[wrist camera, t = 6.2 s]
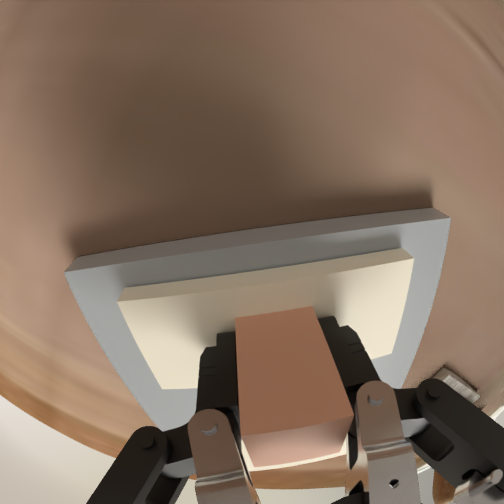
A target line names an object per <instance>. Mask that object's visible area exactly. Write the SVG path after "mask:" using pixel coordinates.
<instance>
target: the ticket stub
mask: <svg viewBox="0 0 504 504" xmlns="http://www.w3.org/2000/svg"><path fill="white" fill-rule="evenodd" d="M413 263H414V258H413V257H412V256H411V255H410V254H409V253H408V252H407V251H406V250H404V249H403V248H398V249H392V250H386V251H380V252H374V253H368V254H362V255H356V256H350V257H344V258H337V259H331V260H325V261H318V262H312V263H305V264H298V265H292V266H285V267H278V268H271V269H265V270H258V271H251V272H243V273H236V274H229V275H222V276H214V277H207V278H199V279H192V280H184V281H176V282H168V283H160V284H152V285H144V286H136V287H127V288H124V289H123V291H122V293H121V295H120V297H119V299H118V301H117V303H118V305H119V308H120V310H121V312H122V314H123V316H124V319H125V321H126V323H127V325H128V327H129V329H130V331H131V333H132V335H133V337H134V339H135V341H136V343H137V345H138V347H139V349H140V351H141V353H142V355H143V356H144V358H145V360H146V362H147V364H148V366H149V367H150V369H151V371H152V373H153V374H154V376H155V378H156V380H157V381H158V383H159V385H160V386H161V388H162V389H190V388H198V378H199V376H198V375H199V363H200V356H201V354H202V353H203V351H204V349H205V348H206V347H211V346H216V339H217V333H223V332H232V331H235V333H236V353H237V375H238V395H239V414H240V431H241V437H242V440H243V442H244V445H245V447H246V449H247V452H248V454H249V457H250V459H251V461H252V463H253V466H254V467H263V466H271V465H279V464H285V463H292V462H297V461H303V460H308V459H313V458H318V457H322V456H326V455H331V454H335V453H339V452H340V451H341V448H342V446H343V443H344V441H345V438H346V436H347V433H348V431H349V428H350V425H351V423H352V420H353V417H354V413H353V410H352V408H351V405H350V402H349V399H348V397H347V394H346V391H345V388H344V386H343V383H342V380H341V378H340V375H339V372H338V370H337V367H336V365H335V362H334V359H333V357H332V354H331V352H330V349H329V347H328V344H327V341H326V339H325V336H324V334H323V331H322V329H321V326H320V324H319V321H318V318H323V317H328V316H335V318H336V320H337V322H338V324H339V326H340V327H341V326H346V325H348V326H349V327H351V328H352V329H353V330H354V331H356V332H357V334H358V336H359V338H360V340H361V343H362V344H363V346H364V348H365V351H367V353H368V355H369V357H370V359H375V358H378V357H382V356H385V355H388V354H391V353H392V351H393V347H394V344H395V341H396V337H397V334H398V330H399V327H400V323H401V319H402V315H403V311H404V307H405V303H406V298H407V294H408V289H409V284H410V279H411V274H412V269H413Z"/></svg>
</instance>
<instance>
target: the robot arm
mask: <svg viewBox="0 0 504 504" xmlns="http://www.w3.org/2000/svg"><path fill="white" fill-rule="evenodd" d="M318 321H319V324H320V326H321V329H322V331H323V334H324V336H325V339H326V341H327V344H328V347H329V349H330V352H331V354H332V357H333V359H334V362H335V365H336V367H337V370H338V372H339V375H340V378H341V380H342V383H343V386H344V388H345V391H346V394H347V397H348V399H349V402H350V405H351V408H352V410H353V413H354V417H353V420H352V423H351V425H350V428H349V431H348V433H347V436H346V454H347V475H346V481H345V497H343V498H341V499H340V500H338V501H335V502H333V503H331V504H422V503H421V502H420V491H419V483H418V476H417V468H416V461H415V455H414V452H415V453H416V454H417V455H418V456H420V457H421V458H422V459H423V460H424V461H425V462H426V463H427V464H428V465H430V466H431V467H432V468H433V469H434V470H435V471H436V472H437V473H439V474H440V475H441V476H442V477H443V478H444V479H445V480H447V481H448V482H449V483H450V484H451V485H452V486H454V487H455V488H456V491H455V494H454V498H453V501H454V503H456V504H504V428H503V427H502V426H500V425H499V424H498V423H497V422H495V421H494V420H493V419H491V418H490V417H489V416H488V415H486V414H485V413H484V412H482V411H481V410H480V409H479V408H477V407H476V406H475V405H473V404H472V403H471V402H470V401H468V400H467V399H466V398H464V397H463V396H462V395H460V394H459V393H458V392H457V391H455V390H454V389H453V388H451V387H450V386H449V385H447V384H446V383H445V382H443V381H442V380H440V379H436V378H430V379H426V380H424V381H423V382H421V383H420V385H419V386H418V388H409V389H396V388H392V387H391V386H390V385H389V384H387V383H385V382H382V380H381V379H380V377H379V376H378V373H377V371H376V369H375V367H374V365H373V363H372V361H371V359H370V357H369V355H368V353H367V351H365V348H364V346H363V344H362V343H361V340H360V338H359V336H358V334H357V332H356V331H354V330H353V329H352V328H351V327H349V326H348V325H346V326H341V327H340V326H339V324H338V322H337V320H336V318H335V316H328V317H323V318H318ZM198 376H199V378H198V388H197V402H196V411H195V414H194V415H193V416H192V417H191V419H190V420H189V422H188V423H186V424H185V425H183V426H180V427H177V428H174V429H170V430H167V431H163V432H162V431H161V430H160V429H158V428H156V427H153V426H145V427H141V428H139V429H138V430H136V431H135V432H134V433H133V434H132V436H131V437H130V439H129V440H128V442H127V443H126V445H125V446H124V448H123V449H122V451H121V452H120V454H119V455H118V457H117V458H116V460H115V461H114V463H113V464H112V466H111V467H110V469H109V470H108V472H107V473H106V475H105V476H104V478H103V479H102V481H101V482H100V484H99V485H98V487H97V488H96V490H95V491H94V493H93V494H92V496H91V497H90V499H89V500H88V502H87V503H86V504H175V502H176V500H177V499H178V497H179V495H180V493H181V491H182V489H183V487H184V486H185V484H186V482H187V480H188V478H189V476H190V475H193V474H196V475H197V481H196V483H195V492H196V496H197V500H198V504H261V503H260V500H259V497H258V495H257V493H256V491H255V488H254V485H253V482H252V479H251V476H250V474H249V471H248V468H247V465H246V462H245V459H244V456H243V453H242V444H241V431H240V414H239V395H238V375H237V353H236V333H235V331H232V332H223V333H217V339H216V346H211V347H206V348H205V349H204V351H203V353H202V354H201V356H200V363H199V375H198ZM389 484H391V485H392V486H393V488H391V487H390V486H389Z"/></svg>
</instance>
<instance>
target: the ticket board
mask: <svg viewBox="0 0 504 504" xmlns="http://www.w3.org/2000/svg"><path fill="white" fill-rule="evenodd" d="M450 221H451V217H449V216H447V215H445V214H444V213H442V212H440V211H438V210H437V209H435V208H424V209H414V210H404V211H394V212H385V213H376V214H367V215H358V216H350V217H341V218H333V219H325V220H317V221H309V222H301V223H293V224H286V225H278V226H271V227H263V228H256V229H249V230H242V231H235V232H228V233H221V234H214V235H208V236H201V237H195V238H188V239H182V240H175V241H169V242H163V243H157V244H150V245H144V246H138V247H132V248H126V249H121V250H115V251H109V252H103V253H98V254H92V255H86V256H81V257H77V258H76V259H75V260H74V261H73V262H72V264H71V265H70V266H69V267H68V268H67V269H66V270H65V271H64V274H65V277H66V279H67V281H68V284H69V286H70V288H71V290H72V292H73V294H74V297H75V299H76V301H77V303H78V305H79V307H80V309H81V311H82V313H83V315H84V317H85V319H86V321H87V322H88V324H89V326H90V328H91V330H92V332H93V333H94V335H95V337H96V339H97V340H98V342H99V344H100V346H101V347H102V349H103V351H104V352H105V354H106V356H107V357H108V359H109V360H110V362H111V364H112V365H113V367H114V368H115V370H116V371H117V373H118V374H119V376H120V377H121V379H122V380H123V382H124V383H125V385H126V386H127V388H128V389H129V390H130V392H131V393H132V395H133V396H134V397H135V399H136V400H137V401H138V403H139V404H140V405H141V407H142V408H143V409H144V411H145V412H146V413H147V414H148V416H149V417H150V418H151V419H152V421H153V422H154V423H155V424H156V426H157V427H158V428H159V429H160V430H161V431H162V432H163V431H167V430H170V429H174V428H177V427H180V426H183V425H185V424H186V423H188V422H189V420H190V419H191V417H192V416H193V415H194V414H195V411H196V402H197V388H190V389H162V388H161V386H160V385H159V383H158V381H157V380H156V378H155V376H154V374H153V373H152V371H151V369H150V367H149V366H148V364H147V362H146V360H145V358H144V356H143V355H142V353H141V351H140V349H139V347H138V345H137V343H136V341H135V339H134V337H133V335H132V333H131V331H130V329H129V327H128V325H127V323H126V321H125V319H124V316H123V314H122V312H121V310H120V308H119V305H118V303H117V301H118V299H119V297H120V295H121V293H122V291H123V289H124V288H127V287H136V286H144V285H152V284H160V283H168V282H176V281H184V280H192V279H199V278H207V277H214V276H222V275H229V274H236V273H243V272H251V271H258V270H265V269H271V268H278V267H285V266H292V265H298V264H305V263H312V262H318V261H325V260H331V259H337V258H344V257H350V256H356V255H362V254H368V253H374V252H380V251H386V250H392V249H398V248H403V249H404V250H406V251H407V252H408V253H409V254H410V255H411V256H412V257H413V258H414V263H413V269H412V274H411V279H410V284H409V289H408V294H407V298H406V303H405V307H404V311H403V315H402V319H401V323H400V327H399V330H398V334H397V337H396V341H395V344H394V347H393V351H392V353H391V354H388V355H385V356H382V357H378V358H375V359H371V361H372V363H373V365H374V367H375V369H376V371H377V373H378V376H379V377H380V379H381V380H382V382H385V383H387V384H389V385H390V386H391V387H392V388H396V389H401V387H402V385H403V383H404V380H405V378H406V376H407V374H408V371H409V369H410V367H411V364H412V362H413V359H414V357H415V354H416V352H417V349H418V346H419V344H420V341H421V338H422V335H423V333H424V330H425V327H426V324H427V321H428V318H429V314H430V311H431V308H432V304H433V301H434V297H435V294H436V290H437V286H438V282H439V278H440V274H441V270H442V265H443V261H444V256H445V251H446V246H447V240H448V234H449V228H450ZM241 444H242V453H243V456H244V459H245V462H246V465H247V468H248V471H258V470H267V469H275V468H282V467H289V466H295V465H300V464H306V463H311V462H316V461H320V460H325V459H329V458H333V457H337V456H341V455H344V454H346V438H345V441H344V443H343V446H342V448H341V451H340V452H339V453H335V454H331V455H326V456H322V457H318V458H313V459H308V460H303V461H297V462H292V463H285V464H279V465H271V466H263V467H254V466H253V463H252V461H251V459H250V457H249V454H248V452H247V449H246V447H245V445H244V442H243V440H242V437H241Z"/></svg>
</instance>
